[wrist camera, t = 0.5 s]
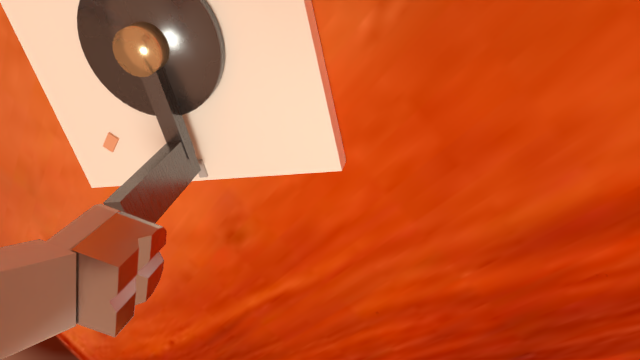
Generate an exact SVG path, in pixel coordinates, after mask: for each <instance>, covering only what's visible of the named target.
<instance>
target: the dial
mask: <svg viewBox="0 0 640 360" xmlns="http://www.w3.org/2000/svg"><path fill="white" fill-rule="evenodd" d="M77 29H78V36H79V40H80V44H81V47H82V50H83V53H84V55H85V57H86V59H87V61H88V63H89V65H90V67H91V69H92V70H93V72H94V74H95V75H96V76H97V78H98V79H99V80H100V82H101V83H102V84H103V85H104V86H105V87H106V88H107V89H108V90H109V91H110V92H111V93H112V94H113V95H114V96H115V97H117V98H118V99H119V100H121V101H122V102H123V103H125V104H127V105H128V106H130V107H132V108H134V109H136V110H138V111H140V112H143V113H146V114H149V115H154V116H156V118H157V120H158V123H159V125H160V128H161V130H162V133H163V135H164V138H165V140H166V144H165V145H164V146H163V147H162V148H161V149H160V150H159V151H158V152H156V153H155V154H154V155H153V156H152V157H151V158H150V159H149V160H148V161H147V162H146V163H145V164H144V165H143V166H142V167H141V168H140V169H139V170H137V171H136V172H135V173H134V174H133V175H132V176H131V177H130V178H129V179H128V180H127V181H126V182H125V183H124V184H123V185H122V186H121V187H119V188H118V189H117V190H116V191H115V192H114V193H113V194H112V195H111V196H110V197H109V198H108V199H107V200H106V201H105V202H104V205H106V206H109V207H111V208H114V209H117V210H119V211H121V212H122V211H123V212H125V213H128V214H131V215H133V216H136V217H138V218H141V219H144V220H146V221H149V222H151V223H154V224H155V223H156V222H157V220H158V219H159V218H160V217H161V216H162V215H163V214H164V212H165V211H166V210H167V209H168V208H169V207H170V205H171V204H172V203H173V202H174V201H175V200H176V198H177V197H178V196H179V195H180V194H181V193H182V191H183V190H184V189H185V188H186V187H187V186H188V184H189V183H190V182H191V181H192V180H193V179H194V177H195V176H196V175H197V174H198V173H199V172H200V171H201V168H200V165H199V163H198V160H197V157H196V155H195V150H194V147H193V144H192V141H191V139H190V136H189V133H188V131H187V128H186V125H185V123H184V120H183V117H182V115H184V114H187V113H190V112H191V111H193V110H195V109H197V108H198V107H199V106H201V105H202V104H203V103H204V102H205V101H206V100H207V99H208V98H209V97H210V96H211V95H212V94H213V93H214V91H215V90H216V88H217V87H218V85H219V83H220V80H221V78H222V74H223V71H224V64H225V47H224V40H223V36H222V32H221V29H220V26H219V23H218V20H217V18H216V16H215V14H214V12H213V10H212V9H211V7H210V6H209V4H208V3H207V1H206V0H80V1H79V5H78V12H77Z"/></svg>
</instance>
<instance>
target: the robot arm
mask: <svg viewBox="0 0 640 360" xmlns="http://www.w3.org/2000/svg"><path fill="white" fill-rule="evenodd" d="M165 244H166V230H165V229H164V227H162V226H159V225H157V224H154V223H151V222H149V221H146V220H144V219H141V218H138V217H136V216H133V215H131V214H128V213H125V212H123V211H122V212H121V211H119V210H117V209H114V208H111V207H109V206H106V205H103V204H97V205H94V206H93V207H91V208H90V209H89V210H87V211H86V212H85V213H83V214H82V215H81V216H79V217H78V218H77V219H75V220H74V221H73V222H71V223H70V224H68V225H67V226H66V227H64V228H63V229H62V230H60V231H59V232H58V233H56V234H55V235H54V236H52V237H51V238H50V239H48V240H47V241H43V240H40V239H38V240H33V241H28V242H24V243H19V244H15V245H10V246H5V247H1V248H0V360H2V359H4V358H6V357H8V356H10V355H13V354H15V353H17V352H19V351H22V350H24V349H26V348H28V347H30V346H32V345H35V344H37V343H39V342H41V341H44V340H46V339H48V338H50V337H53V336H55V335H57V334H59V333H61V332H64V331H66V330H68V329H70V328H73V327H75V326H76V324H79V325H81V326H84V327H87V328H90V329H93V330H96V331H98V332H101V333H104V334H107V335H110V336H113V337H116V336H117V334H118V333H119V332H120V331H121V330H122V329H123V328H124V326H125V325H126V324H127V323H128V322H129V321H130V319H131V318H132V317H133V316H134V308H135V305H137V304H140V303H143V302H146V301H147V299H148V298H149V297H150V296H151V294H152V293H153V292H154V290H155V288H156V286H157V284H158V282H159V280H160V277H161V274H162V270H163V263H164V260H163V258H162V256H161V254H160V252H159V250H160V249H161V248H162V247H163V246H164V245H165Z"/></svg>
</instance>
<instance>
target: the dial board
mask: <svg viewBox="0 0 640 360" xmlns="http://www.w3.org/2000/svg"><path fill="white" fill-rule="evenodd" d="M79 1H80V0H0V3H1V5H2V7H3V9H4V11H5V13H6V15H7V17H8V19H9V21H10V23H11V25H12V27H13V29H14V31H15V33H16V35H17V37H18V39H19V41H20V43H21V45H22V47H23V49H24V51H25V53H26V55H27V57H28V59H29V61H30V63H31V65H32V67H33V69H34V71H35V73H36V75H37V78H38V80H39V82H40V84H41V86H42V88H43V90H44V92H45V94H46V96H47V98H48V100H49V102H50V104H51V106H52V108H53V110H54V112H55V114H56V116H57V118H58V120H59V122H60V124H61V126H62V128H63V130H64V132H65V134H66V136H67V138H68V140H69V142H70V144H71V146H72V148H73V150H74V152H75V155H76V157H77V159H78V161H79V163H80V165H81V167H82V169H83V171H84V173H85V175H86V177H87V179H88V181H89V183H90V185H91V187H92V188H96V187H110V186H122V185H123V184H124V183H125V182H126V181H127V180H128V179H129V178H130V177H131V176H132V175H133V174H134V173H135V172H136V171H137V170H139V169H140V168H141V167H142V166H143V165H144V164H145V163H146V162H147V161H148V160H149V159H150V158H151V157H152V156H153V155H154V154H155V153H156V152H158V151H159V150H160V149H161V148H162V147H163V146H164V145H165V144H166V140H165V138H164V135H163V133H162V130H161V128H160V125H159V123H158V120H157V118H156V116H154V115H149V114H146V113H143V112H140V111H138V110H136V109H134V108H132V107H130V106H128V105H127V104H125V103H123V102H122V101H121V100H119V99H118V98H117V97H115V96H114V95H113V94H112V93H111V92H110V91H109V90H108V89H107V88H106V87H105V86H104V85H103V84H102V83H101V82H100V80H99V79H98V78H97V76H96V75H95V74H94V72H93V70H92V69H91V67H90V65H89V63H88V61H87V59H86V57H85V55H84V53H83V50H82V47H81V44H80V40H79V36H78V29H77V12H78V5H79ZM206 1H207V3H208V4H209V6H210V7H211V9H212V10H213V12H214V14H215V16H216V18H217V20H218V23H219V26H220V29H221V32H222V36H223V40H224V47H225V64H224V71H223V74H222V78H221V80H220V83H219V85H218V87H217V88H216V90H215V91H214V93H213V94H212V95H211V96H210V97H209V98H208V99H207V100H206V101H205V102H204V103H203V104H202V105H201V106H199V107H198V108H197V109H195V110H193V111H191V112H190V113H187V114H184V115H182V117H183V120H184V123H185V125H186V128H187V131H188V133H189V136H190V139H191V141H192V144H193V147H194V150H195V155H196V157H197V160H198V163H199V165H200V168H201V171H200V172H199V173H198V174H197V175H196V176H195V177H194V179H193V180H192V181H199V180H214V179H228V178H243V177H258V176H273V175H287V174H302V173H317V172H332V171H342V170H343V167H344V165H345V162H346V158H345V153H344V148H343V144H342V139H341V135H340V130H339V125H338V121H337V116H336V112H335V107H334V102H333V98H332V93H331V89H330V84H329V79H328V75H327V70H326V66H325V61H324V56H323V52H322V47H321V43H320V38H319V33H318V29H317V24H316V20H315V15H314V10H313V6H312V1H311V0H206Z"/></svg>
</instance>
